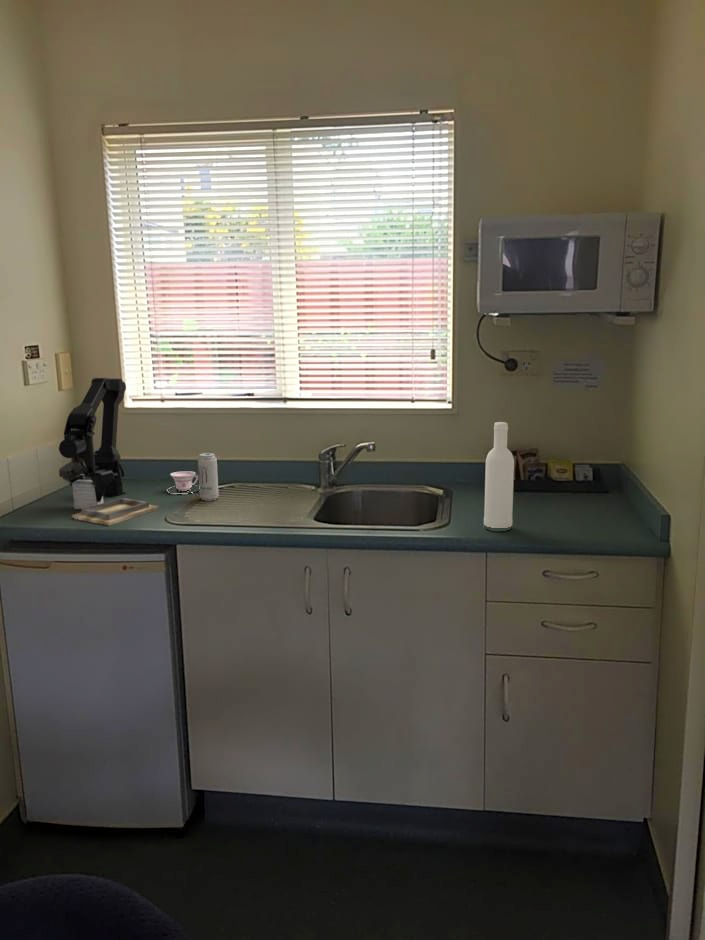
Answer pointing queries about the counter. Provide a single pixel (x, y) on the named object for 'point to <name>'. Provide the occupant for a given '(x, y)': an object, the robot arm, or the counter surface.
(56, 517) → the counter surface
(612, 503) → the counter surface
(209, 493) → the energy drink can
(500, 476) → the bottle
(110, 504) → the holder
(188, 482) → the teacup
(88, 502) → the medicine box
